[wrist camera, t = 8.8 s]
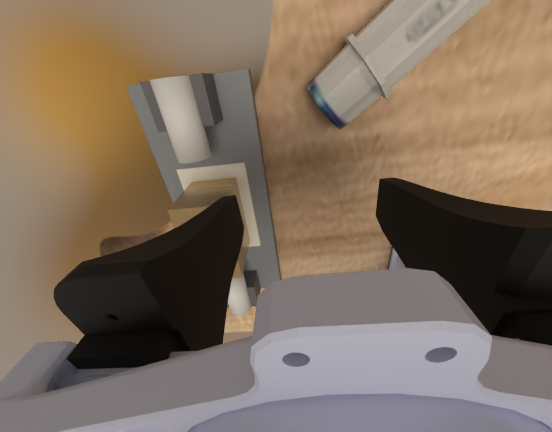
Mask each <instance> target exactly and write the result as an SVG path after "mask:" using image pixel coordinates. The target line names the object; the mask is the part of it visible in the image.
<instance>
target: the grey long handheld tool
mask: <svg viewBox="0 0 552 432" xmlns="http://www.w3.org/2000/svg"><path fill="white" fill-rule="evenodd" d="M490 1H491V0H391V1H390V2H389V3H388V4H387V5H386V6H385V7H384V8H383V9H382V10H381V11H380V12H379V13H378V14H377V15H376V16H375V17H374V18H373V19H372V20H371V21H370V22H369V23H368V24H367V25H366V26H365V27H364V28H363V29H361V30H360V31H359V32H358V33H357V34H356V35H355V36H354V35H353V34H348V35H347V36H346V37H345V39H344V40H345V42H346V45H345V47H344V48H343V49H342V50H341V51H340V52H339V53H338V54H337V55H336V56H335V57H334V58H333V59H332V60H331V61H330V62H329V63H328V64H327V65H326V66H325V67H324V68H323V69H322V70H321V71H320V72H319V73H318V74H317V75H316V76H315V77H314V78H313V79H312V80H311V81H310V82H309V84H308V85H307V89H308V91H309V92H310V94H311V95H312V97H313V98H314V100H315V101H316V103H317V105H318V106H319V107H320V108H321V110H322V111H323V112H324V113H325V115H326V116H327V117H328V118H329V120H330V121H331V122H332V123H333V124H334V125H335V126H336V127H337V128H338V129H340V130H341V129H342V128H343V127H344V126H346V125H347V124H348V123H349V122H350V121H352V120H353V119H354V118H355V117H356V116H358V115H359V114H360V113H361V112H363V111H364V110H365V109H366V108H367V107H369V106H370V105H371V104H372V103H374V102H375V101H376V100H377V99H378V98H380V97H381V96H383V97H385V98H386V99H387V98H388V97H390V96H391V92H390V90H389V89H390V88H392V87H393V86H394V85H395V84H396V83H397V82H398V81H400V80H401V79H402V78H403V77H404V76H405V75H406V74H408V73H409V72H410V71H411V70H412V69H413V68H414V67H416V66H417V65H418V64H419V63H420V62H421V61H422V60H423V59H425V58H426V57H427V56H428V55H429V54H430V53H431V52H433V51H434V50H435V49H436V48H437V47H438V46H439V45H441V44H442V43H443V42H444V41H445V40H446V39H447V38H449V37H450V36H451V35H452V34H453V33H454V32H455V31H457V30H458V29H459V28H460V27H461V26H462V25H463V24H465V23H466V22H467V21H468V20H469V19H470V18H471V17H472V16H474V15H475V14H476V13H477V12H478V11H479V10H480V9H482V8H483V7H484V6H485V5H486V4H487V3H488V2H490Z"/></svg>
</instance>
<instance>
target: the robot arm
mask: <svg viewBox="0 0 552 432" xmlns="http://www.w3.org/2000/svg"><path fill="white" fill-rule="evenodd" d="M376 217H377V219H378V222H379V224H380V226H381V229H382V231H383V232H384V234H385V236H386V237H387V239H388V240H389V242H390V244H391V245H392V247H393V249H392V254H391V260H390V265H389V270H375V271H361V272H347V273H333V274H319V275H304V276H294V277H290V278H287V279H283V280H279V281H276V282H272V283H271V284H270V285H269V286H268V287H267V288H265V289H264V290H263V291H262V292H261V293H260V294H259V295H258V298H257V306H256V314H255V322H254V330H253V336H249V337H246V338H242V339H238V340H235V341H231V342H228V343H224V344H223V335H224V327H225V319H226V312H227V305H228V298H229V292H230V286H231V281H232V277H233V274H234V270H235V267H236V263H237V260H238V257H239V253H240V249H241V246H242V242H243V234H244V224H243V220H242V216H241V212H240V209H239V205H238V201H237V197H236V195H230V196H224V197H222V198H220V199H219V200H217V201H216V202H214V203H213V204H212V205H210V206H209V207H207V208H206V209H205V210H203V211H202V212H200V213H199V214H197V215H196V216H194V217H193V218H191V219H190V220H188V221H187V222H185V223H183V224H182V225H180V226H178V227H176V228H174V229H173V230H171V231H169V232H167V233H165V234H162V235H160V236H158V237H156V238H153V239H151V240H149V241H147V242H144V243H141V244H139V245H136V246H134V247H131V248H128V249H125V250H122V251H119V252H116V253H112V254H109V255H105V256H102V257H98V258H95V259H91V260H87V261H84V262H82V263H80V264H79V265H78V266H77V267H76V268H75V269H74V270H72V271H71V272H70V273H69V274H68V275H67V276H66V277H65V278H64V279H63V280H62V281H60V282H59V283H58V284H57V286H56V287H55V289H54V299H55V302H56V304H57V306H58V307H59V309H60V310H61V311H62V313H63V314H64V315H65V316H66V317H68V319H70V321H71V322H72V323H73V324H74V325H75V326H76V327H77V328H79V330H80V331H81V332H82V333H83V334H85V335H84V337H83V338H82V339H81V340H80V342H79V343H78V344H75V343H72V342H66V341H63V342H41V343H37V344H35V345H34V346H33V347H32V348H31V349H30V350H29V351H28V352H27V353H26V354H25V355H24V356H23V357H22V359H21V360H20V361H19V362H18V363H17V364H16V365H15V366H14V367H13V368H12V369H11V370H10V371H9V372H8V373H7V375H6V376H5V377H4V378H3V379H2V380H1V381H0V432H552V211H542V210H532V209H523V208H516V207H509V206H502V205H495V204H490V203H484V202H479V201H474V200H470V199H465V198H461V197H457V196H453V195H450V194H446V193H442V192H439V191H436V190H433V189H429V188H426V187H423V186H420V185H417V184H414V183H411V182H408V181H405V180H402V179H398V178H385V179H380V181H379V190H378V199H377V209H376Z"/></svg>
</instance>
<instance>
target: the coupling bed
mask: <svg viewBox="0 0 552 432" xmlns="http://www.w3.org/2000/svg"><path fill="white" fill-rule="evenodd" d="M126 87H127V89H128V92H129V94H130V97H131V99H132V102H133V104H134V107H135V109H136V112H137V114H138V117H139V119H140V122H141V124H142V127H143V129H144V132H145V134H146V137H147V139H148V142H149V144H150V147H151V149H152V152H153V154H154V157H155V159H156V161H157V164H158V166H159V169H160V171H161V174H162V176H163V179H164V181H165V184H166V186H167V189H168V191H169V194H170V196H171V199H172V201H173V203H174V202H175V201H176V199H177V198H178V197H179V196H180V195H181V194H182V193H183V191H184V190H185V189H186V188H187V187H188V186H189V185H190V183H191V182H195V181H205V180H215V179H225V178H235V177H236V180H237V185H238V189H239V194H240V198H241V203H242V207H243V212H244V216H245V221H246V225H247V230H248V234H249V239H250V243H249V248H248V252H247V257H246V262H245V267H244V272H243V276H242V277H239V278H232V281H231V286H230V292H229V298H228V305H227V307H229V308H230V311H231V313H232V314H233V315H235V316H243V315H245V314H247V313H248V312H249V311H250V309H251V306H257V298H258V295H259V294H260V289H261V288H267V287H268V286H269V285H270V284H271V283H272V282H276V281H279V280H281V274H280V268H279V261H278V254H277V248H276V241H275V234H274V227H273V221H272V214H271V207H270V201H269V194H268V187H267V180H266V174H265V167H264V160H263V154H262V147H261V140H260V133H259V127H258V120H257V113H256V107H255V100H254V93H253V86H252V80H251V73H250V69H243V70H236V71H229V72H221V73H215V74H203V73H201V74H195V75H184V76H174V77H166V78H159V79H153V80H150V81H145V82H140V84H138V85H130V86H126Z"/></svg>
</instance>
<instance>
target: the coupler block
mask: <svg viewBox="0 0 552 432" xmlns="http://www.w3.org/2000/svg"><path fill="white" fill-rule="evenodd" d="M230 195H236V197H237V201H238V205H239V209H240V212H241V216H242V220H243V224H244V234H243V242H242V246H241V249H240V253H239V257H238V260H237V263H236V267H235V270H234V274H233V277H232V278H239V277H242V276H243V272H244V267H245V262H246V257H247V252H248V248H249V243H250V239H249V234H248V230H247V225H246V221H245V216H244V212H243V207H242V203H241V198H240V194H239V189H238V185H237V180H236V177H235V178H225V179H215V180H205V181H195V182H191V183H190V185H189V186H188V187H187V188H186V189H185V190H184V191H183V193H182V194H181V195H180V196H179V197H178V198H177V199H176V201H175V202H174V203H173V204H172V205H171V206H170V208H169V209H168V210H167V211H168V213H169V216H170V218H171V220H172V223H173V225H174V227H175V228H176V227H178V226H180V225H182V224H183V223H185V222H187V221H188V220H190V219H191V218H193V217H194V216H196V215H197V214H199V213H200V212H202V211H203V210H205V209H206V208H207V207H209V206H210V205H212V204H213V203H214V202H216V201H217V200H219V199H220V198H222V197H224V196H230Z"/></svg>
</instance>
